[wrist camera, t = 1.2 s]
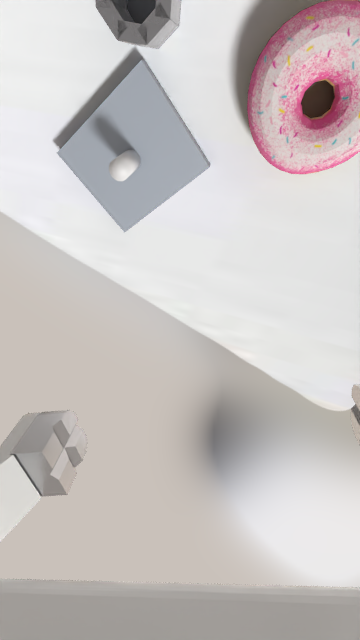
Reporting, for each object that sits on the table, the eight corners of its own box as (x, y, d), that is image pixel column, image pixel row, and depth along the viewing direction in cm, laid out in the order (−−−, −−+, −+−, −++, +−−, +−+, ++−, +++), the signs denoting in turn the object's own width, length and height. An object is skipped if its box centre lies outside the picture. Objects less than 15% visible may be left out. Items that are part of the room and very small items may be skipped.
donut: (221, 83, 32) (219, 85, 28) (355, -44, 26) (376, -65, 22) (284, 191, 38) (289, 205, 34) (407, 109, 31) (431, 114, 27)
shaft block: (144, 60, 32) (127, 57, 26) (210, 164, 37) (206, 178, 32) (62, 150, 38) (35, 162, 33) (127, 228, 43) (113, 248, 38)
